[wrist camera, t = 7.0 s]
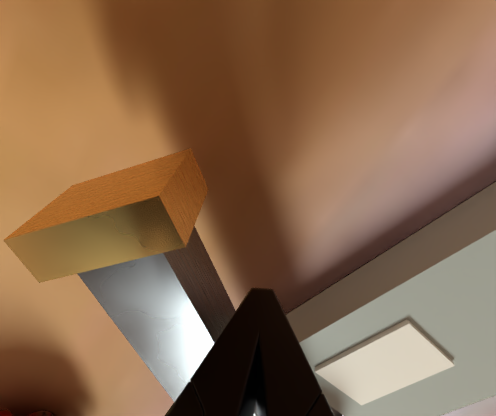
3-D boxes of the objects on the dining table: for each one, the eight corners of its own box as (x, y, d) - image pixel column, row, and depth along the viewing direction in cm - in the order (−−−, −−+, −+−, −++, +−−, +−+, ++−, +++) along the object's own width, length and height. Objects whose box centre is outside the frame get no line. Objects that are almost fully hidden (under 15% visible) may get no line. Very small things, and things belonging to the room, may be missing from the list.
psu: (641, 89, 9) (729, 103, 7) (717, 252, 12) (795, 292, 10) (266, 327, 15) (265, 366, 13) (368, 401, 17) (379, 443, 16)
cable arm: (341, 477, 16) (352, 549, 14) (259, 482, 17) (256, 551, 15) (205, 143, 8) (178, 190, 6) (60, 189, 9) (-12, 244, 7)
